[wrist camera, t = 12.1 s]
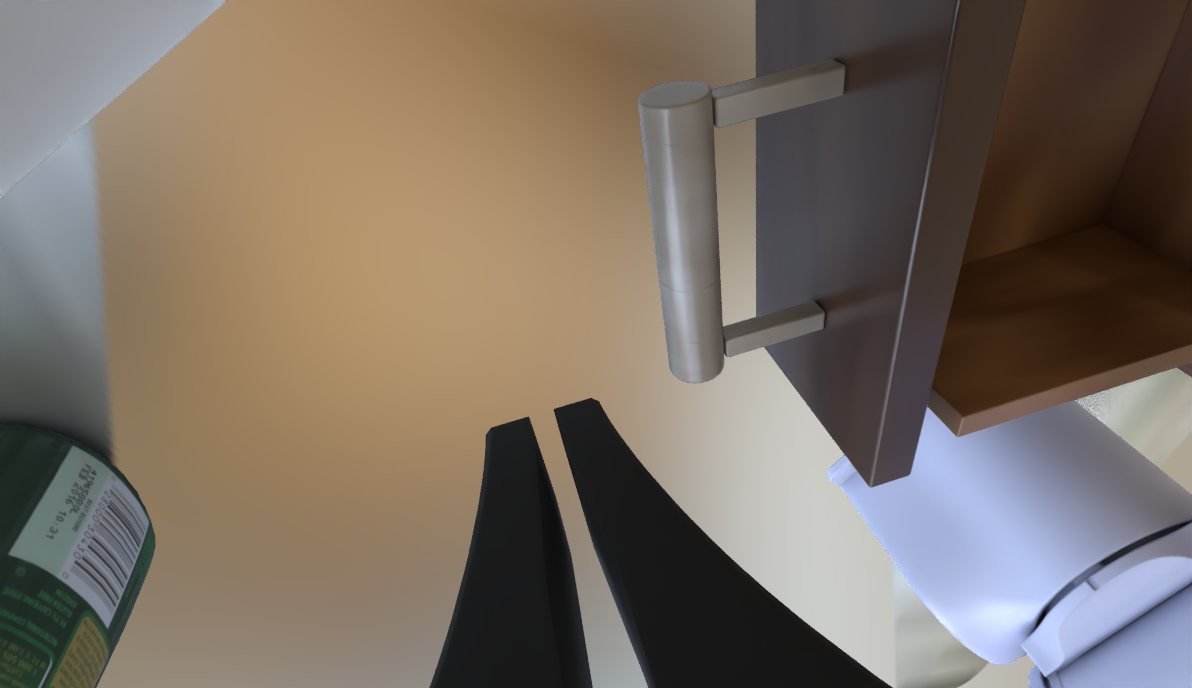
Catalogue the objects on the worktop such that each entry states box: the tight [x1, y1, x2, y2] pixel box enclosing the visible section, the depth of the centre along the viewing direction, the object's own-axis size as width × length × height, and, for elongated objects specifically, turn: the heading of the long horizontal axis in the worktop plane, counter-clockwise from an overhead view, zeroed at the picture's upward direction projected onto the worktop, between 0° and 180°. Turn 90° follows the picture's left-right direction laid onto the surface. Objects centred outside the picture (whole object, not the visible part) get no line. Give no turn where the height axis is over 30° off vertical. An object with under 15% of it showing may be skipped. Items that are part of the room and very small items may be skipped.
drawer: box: [638, 0, 1192, 488], centre depth 15 cm, size 17×13×7 cm
